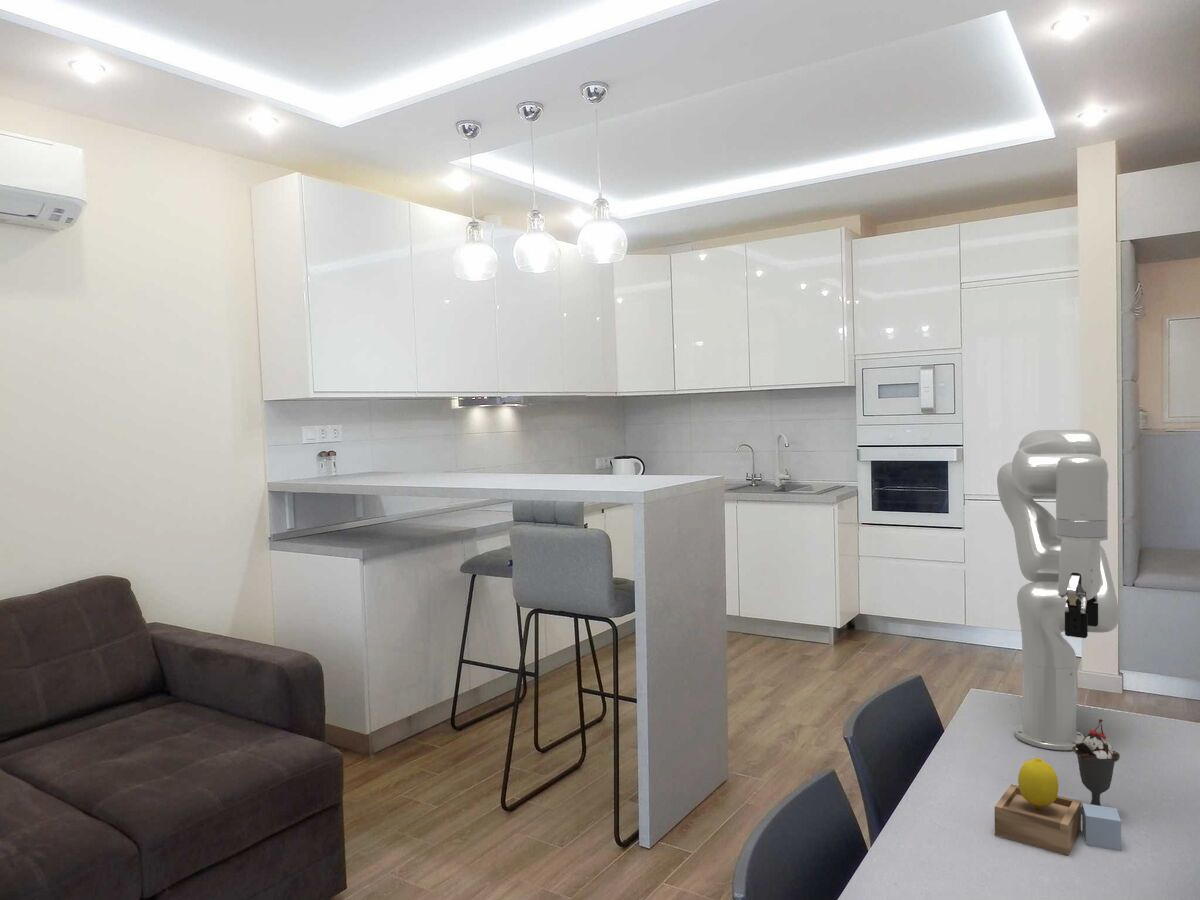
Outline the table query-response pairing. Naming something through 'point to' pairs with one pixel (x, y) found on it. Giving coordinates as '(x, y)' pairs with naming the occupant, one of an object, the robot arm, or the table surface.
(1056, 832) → the wooden open box
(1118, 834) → the slate cube
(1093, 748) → the sundae
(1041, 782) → the lemon
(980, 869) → the table surface
